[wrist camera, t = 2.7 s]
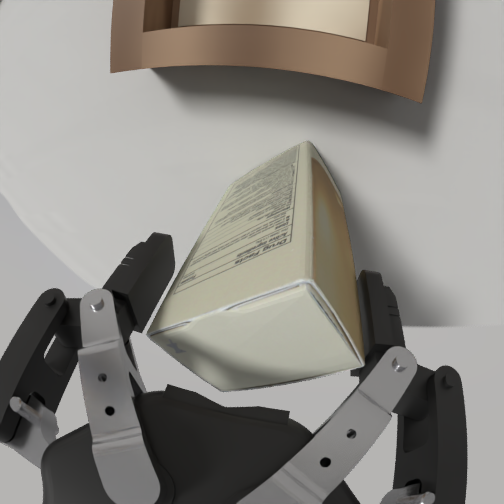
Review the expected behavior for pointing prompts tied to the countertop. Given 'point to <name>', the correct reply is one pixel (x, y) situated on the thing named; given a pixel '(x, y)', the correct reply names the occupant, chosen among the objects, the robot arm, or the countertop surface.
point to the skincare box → (268, 283)
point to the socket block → (282, 38)
